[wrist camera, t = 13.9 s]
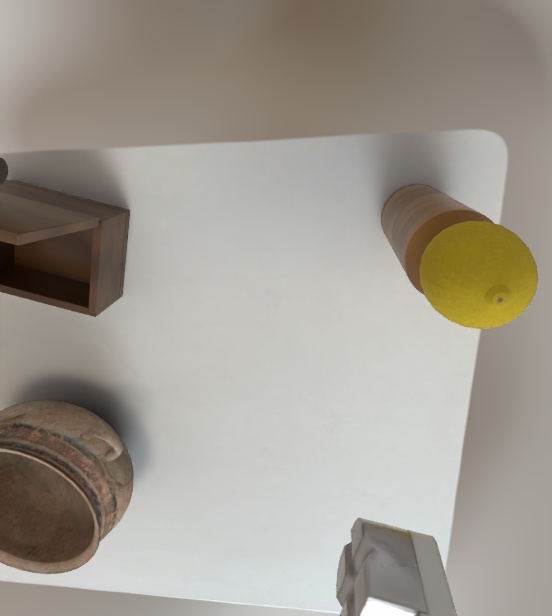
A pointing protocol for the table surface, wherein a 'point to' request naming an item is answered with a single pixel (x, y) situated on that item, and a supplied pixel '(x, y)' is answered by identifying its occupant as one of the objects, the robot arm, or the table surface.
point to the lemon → (478, 274)
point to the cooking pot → (58, 485)
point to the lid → (36, 218)
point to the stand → (420, 223)
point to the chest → (68, 256)
